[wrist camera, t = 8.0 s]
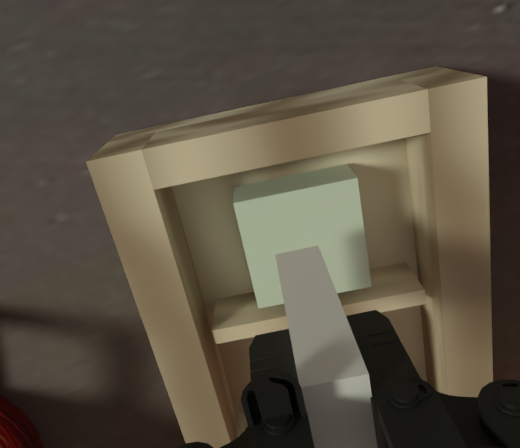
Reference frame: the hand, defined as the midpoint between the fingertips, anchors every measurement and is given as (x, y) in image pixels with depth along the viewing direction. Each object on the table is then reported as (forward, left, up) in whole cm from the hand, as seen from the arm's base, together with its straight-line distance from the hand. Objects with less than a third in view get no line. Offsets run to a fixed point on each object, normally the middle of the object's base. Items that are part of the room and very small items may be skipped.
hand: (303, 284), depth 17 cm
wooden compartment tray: (0, -10, -7) cm, 12 cm away
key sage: (0, 0, -5) cm, 5 cm away
